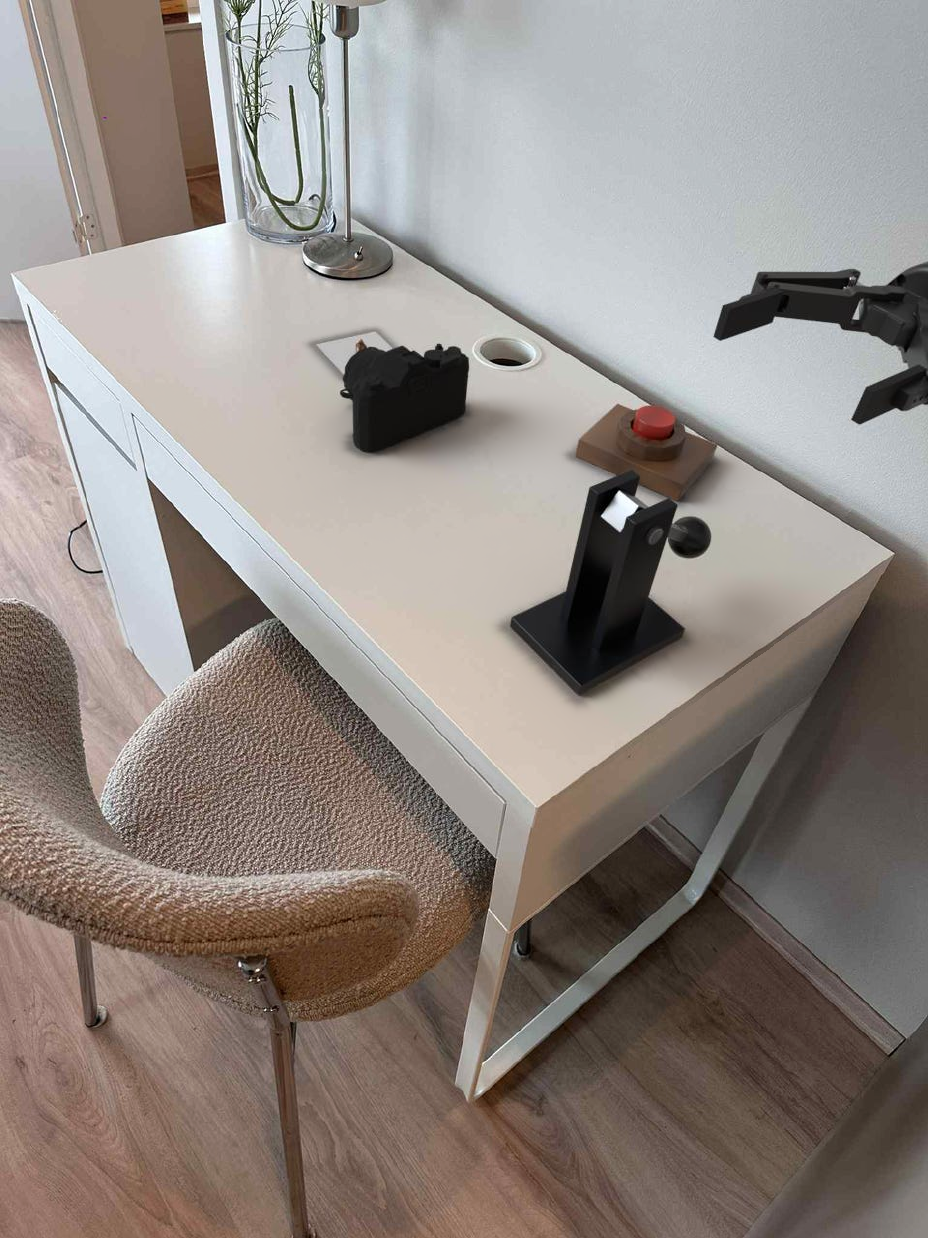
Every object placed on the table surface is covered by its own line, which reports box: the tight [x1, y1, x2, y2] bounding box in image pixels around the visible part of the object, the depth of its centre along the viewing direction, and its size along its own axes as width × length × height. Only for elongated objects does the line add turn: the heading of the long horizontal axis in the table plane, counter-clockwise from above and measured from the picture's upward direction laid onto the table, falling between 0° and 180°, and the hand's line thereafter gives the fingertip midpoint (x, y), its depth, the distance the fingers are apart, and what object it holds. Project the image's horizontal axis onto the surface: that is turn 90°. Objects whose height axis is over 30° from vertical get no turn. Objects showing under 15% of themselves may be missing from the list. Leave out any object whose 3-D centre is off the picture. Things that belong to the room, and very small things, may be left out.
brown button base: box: [575, 403, 718, 502], centre depth 93 cm, size 12×9×4 cm
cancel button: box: [633, 405, 676, 441], centre depth 91 cm, size 4×4×2 cm
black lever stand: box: [509, 470, 686, 696], centre depth 71 cm, size 12×9×15 cm
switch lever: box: [601, 490, 712, 560], centre depth 71 cm, size 14×4×4 cm
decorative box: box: [315, 331, 394, 376], centre depth 104 cm, size 8×8×2 cm
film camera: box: [339, 343, 470, 453], centre depth 93 cm, size 15×10×9 cm, turn 130°
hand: (787, 362), depth 67 cm, fingers open, 13 cm apart
